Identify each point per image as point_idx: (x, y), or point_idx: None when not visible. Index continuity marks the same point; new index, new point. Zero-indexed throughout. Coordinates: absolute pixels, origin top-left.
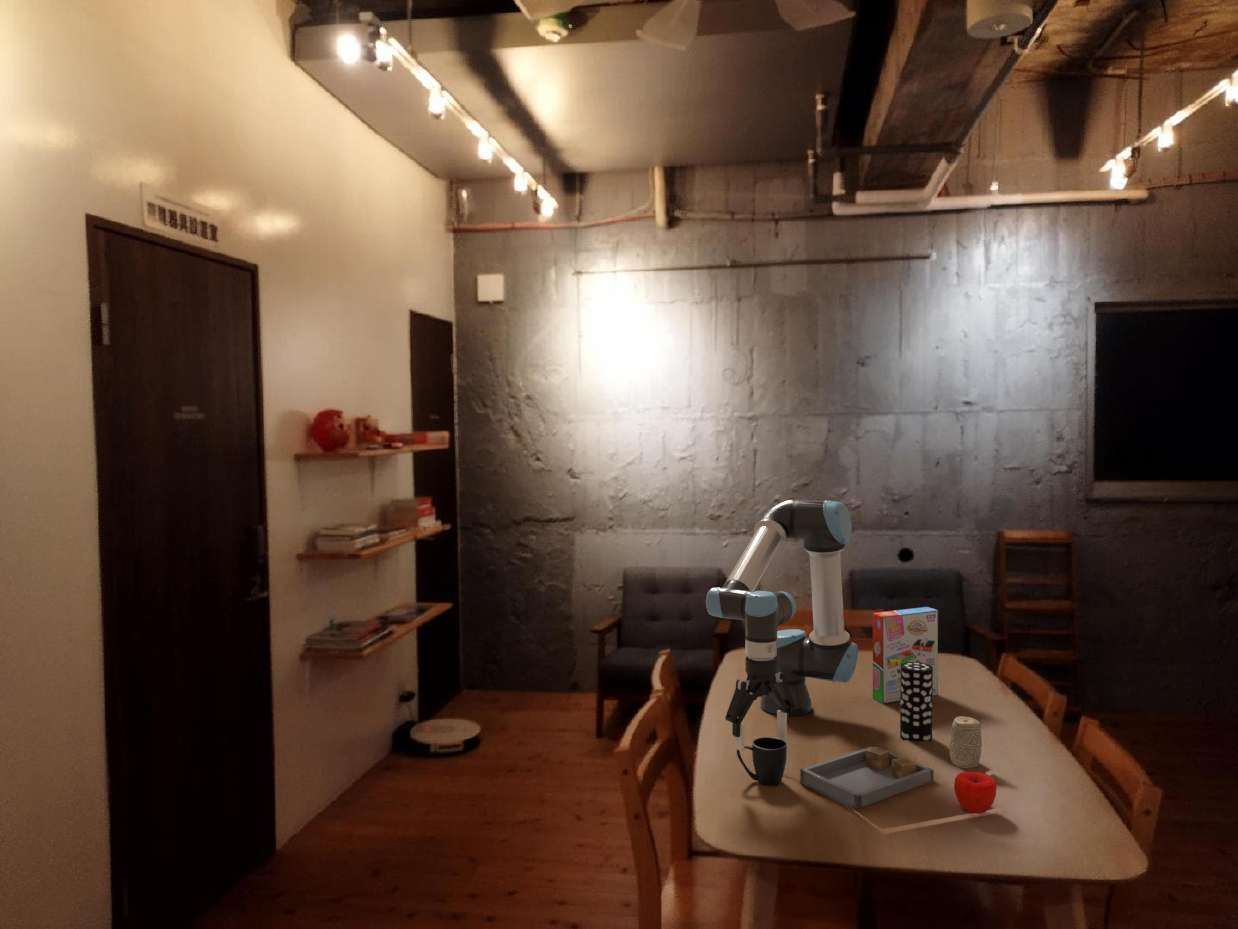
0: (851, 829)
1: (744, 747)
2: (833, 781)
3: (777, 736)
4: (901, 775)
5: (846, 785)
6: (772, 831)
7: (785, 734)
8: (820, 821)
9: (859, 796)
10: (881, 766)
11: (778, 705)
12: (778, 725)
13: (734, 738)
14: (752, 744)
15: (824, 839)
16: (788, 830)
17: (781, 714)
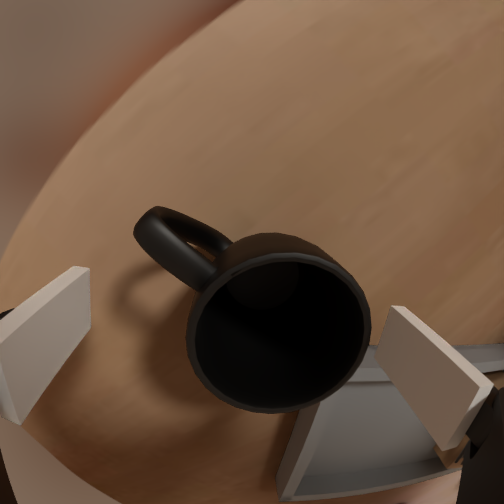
0: (206, 494)
1: (158, 263)
2: (369, 397)
3: (390, 311)
4: (438, 455)
5: (366, 423)
6: (71, 423)
7: (389, 373)
8: (182, 462)
9: (283, 501)
10: None
11: (492, 437)
12: (419, 348)
13: (47, 285)
14: (205, 287)
15: (138, 483)
16: (101, 441)
17: (450, 418)
